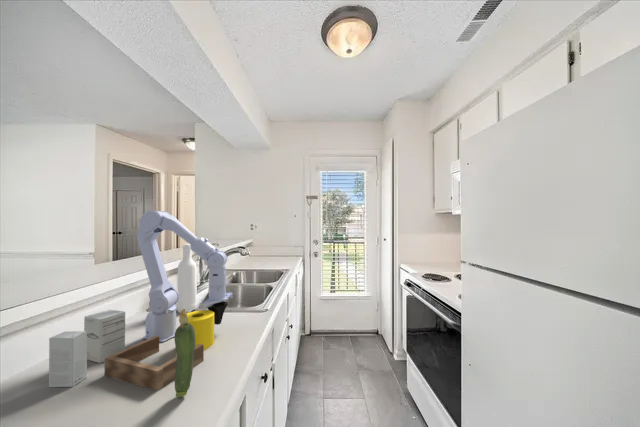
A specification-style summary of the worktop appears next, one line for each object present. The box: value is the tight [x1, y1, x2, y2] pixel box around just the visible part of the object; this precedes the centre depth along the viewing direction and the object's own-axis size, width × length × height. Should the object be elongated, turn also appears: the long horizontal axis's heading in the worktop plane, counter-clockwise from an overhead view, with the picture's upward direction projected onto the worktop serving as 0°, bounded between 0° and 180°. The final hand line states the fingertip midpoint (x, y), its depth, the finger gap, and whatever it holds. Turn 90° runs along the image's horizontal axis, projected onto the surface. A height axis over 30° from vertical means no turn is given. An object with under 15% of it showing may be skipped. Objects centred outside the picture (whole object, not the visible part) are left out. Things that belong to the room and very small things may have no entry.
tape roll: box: [187, 309, 215, 350], centre depth 88 cm, size 10×10×9 cm
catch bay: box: [104, 336, 205, 391], centre depth 74 cm, size 19×14×4 cm
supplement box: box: [83, 309, 126, 364], centre depth 81 cm, size 7×7×13 cm
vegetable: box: [174, 309, 195, 399], centre depth 62 cm, size 4×4×20 cm
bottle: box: [176, 243, 198, 314], centre depth 122 cm, size 8×8×30 cm
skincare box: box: [48, 330, 88, 388], centre depth 68 cm, size 6×4×12 cm
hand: (217, 323), depth 96 cm, fingers closed
